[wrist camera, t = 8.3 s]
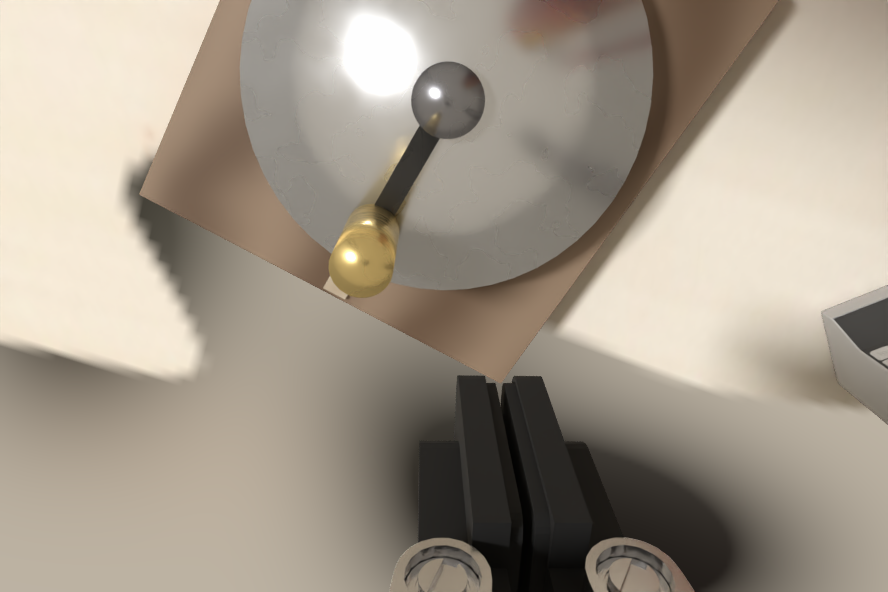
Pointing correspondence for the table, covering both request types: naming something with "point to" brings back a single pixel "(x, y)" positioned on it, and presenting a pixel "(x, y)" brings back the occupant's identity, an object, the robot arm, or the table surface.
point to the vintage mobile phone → (861, 348)
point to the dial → (444, 129)
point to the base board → (403, 307)
